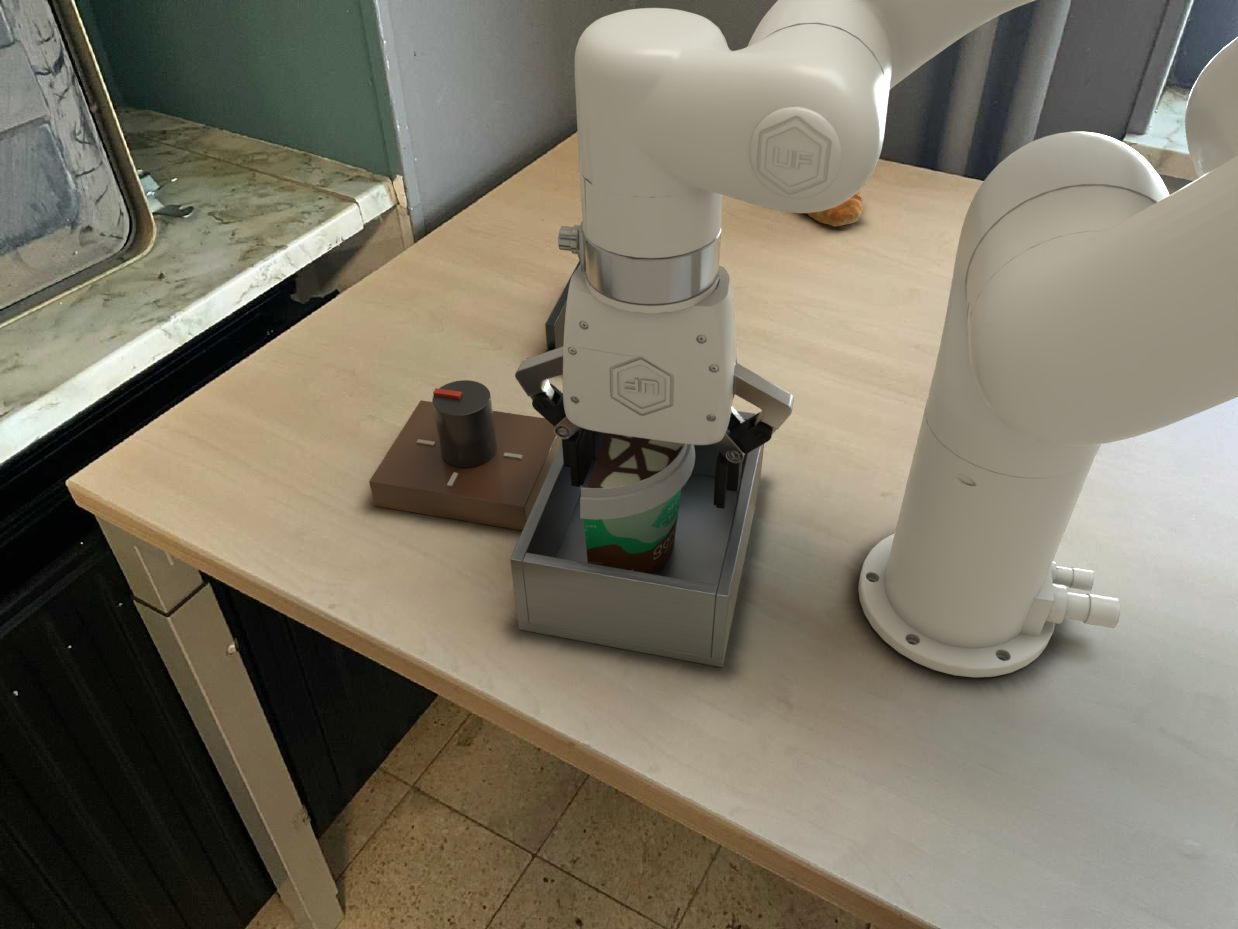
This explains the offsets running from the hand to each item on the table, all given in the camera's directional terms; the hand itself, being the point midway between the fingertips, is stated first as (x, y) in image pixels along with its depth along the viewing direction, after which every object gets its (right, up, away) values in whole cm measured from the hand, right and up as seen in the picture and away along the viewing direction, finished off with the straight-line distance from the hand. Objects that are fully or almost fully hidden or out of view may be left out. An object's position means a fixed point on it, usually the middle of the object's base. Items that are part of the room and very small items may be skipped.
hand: (651, 483), depth 66 cm
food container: (0, -5, +4) cm, 6 cm away
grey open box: (0, -5, +4) cm, 7 cm away
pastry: (+21, +29, +43) cm, 56 cm away
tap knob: (-14, +2, +9) cm, 17 cm away
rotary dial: (-14, 0, +11) cm, 17 cm away
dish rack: (-2, +14, +26) cm, 29 cm away
